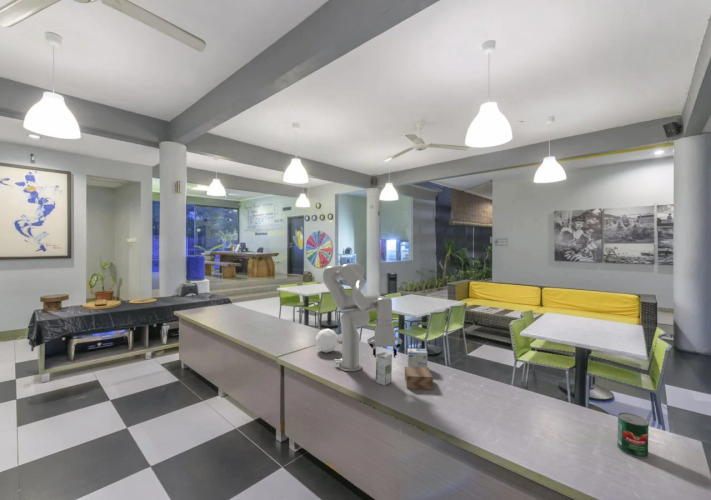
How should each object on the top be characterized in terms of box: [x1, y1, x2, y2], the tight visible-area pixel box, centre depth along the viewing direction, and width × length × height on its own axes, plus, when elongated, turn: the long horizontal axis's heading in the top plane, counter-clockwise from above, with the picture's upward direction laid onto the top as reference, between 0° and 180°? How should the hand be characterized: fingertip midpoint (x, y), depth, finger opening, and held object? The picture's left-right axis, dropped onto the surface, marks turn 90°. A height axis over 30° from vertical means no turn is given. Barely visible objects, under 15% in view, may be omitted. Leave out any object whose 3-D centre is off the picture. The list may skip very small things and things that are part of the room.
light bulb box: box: [407, 348, 428, 367], centre depth 177 cm, size 11×7×11 cm, turn 84°
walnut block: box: [404, 366, 434, 390], centre depth 159 cm, size 12×12×6 cm
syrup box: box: [375, 351, 393, 386], centre depth 160 cm, size 6×6×14 cm
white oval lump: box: [315, 328, 342, 354], centre depth 206 cm, size 14×15×20 cm
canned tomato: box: [616, 411, 650, 459], centre depth 108 cm, size 8×8×11 cm
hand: (384, 356), depth 159 cm, fingers open, 9 cm apart
